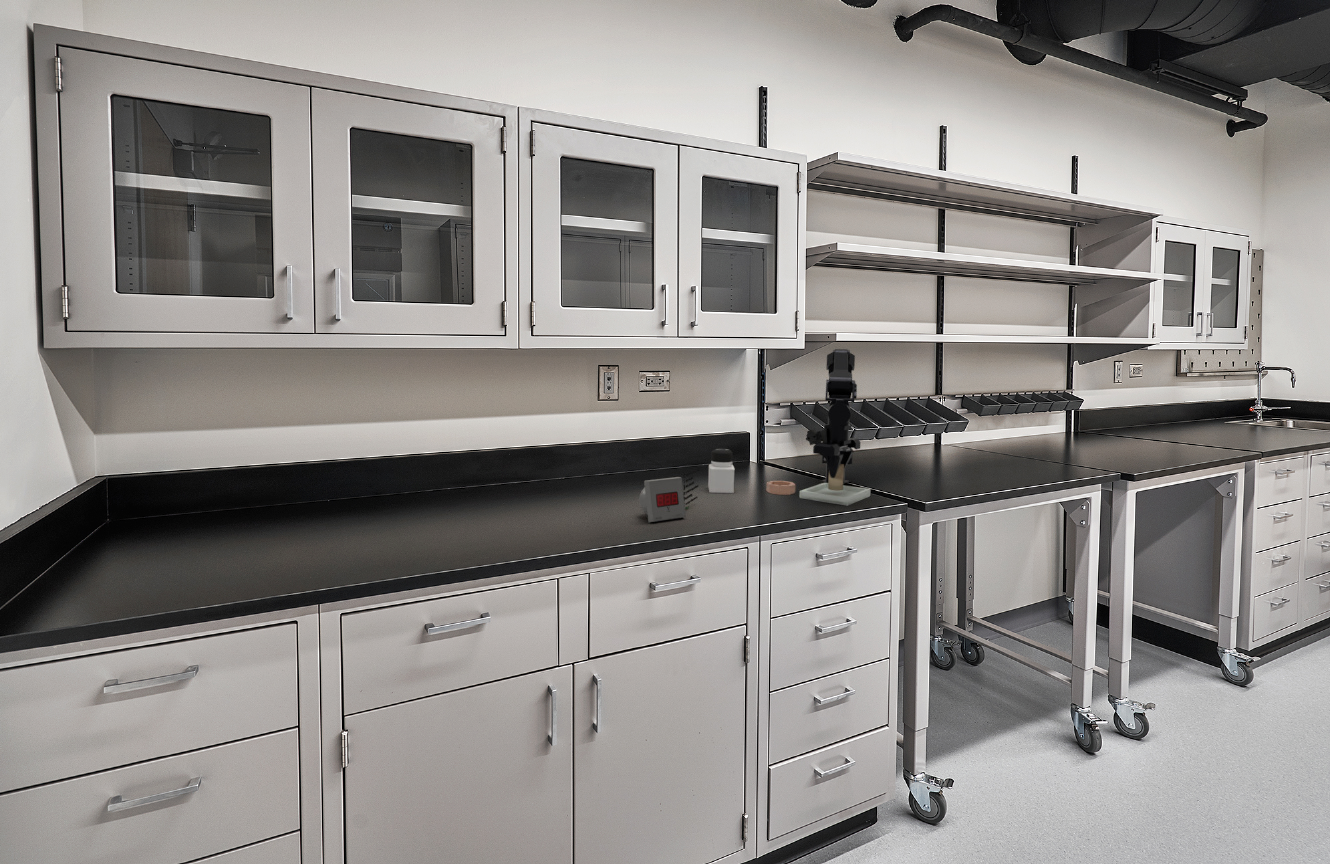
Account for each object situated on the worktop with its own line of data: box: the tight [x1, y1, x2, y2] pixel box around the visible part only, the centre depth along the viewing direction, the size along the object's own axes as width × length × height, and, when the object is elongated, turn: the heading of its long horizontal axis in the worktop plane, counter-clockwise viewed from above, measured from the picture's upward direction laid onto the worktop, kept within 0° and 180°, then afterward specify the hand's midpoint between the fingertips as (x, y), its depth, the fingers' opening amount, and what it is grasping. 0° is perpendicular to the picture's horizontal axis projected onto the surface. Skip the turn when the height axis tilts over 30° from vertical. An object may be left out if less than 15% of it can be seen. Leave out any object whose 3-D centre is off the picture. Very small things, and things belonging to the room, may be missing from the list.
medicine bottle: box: [707, 448, 736, 494], centre depth 202 cm, size 7×7×12 cm
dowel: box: [828, 464, 844, 491], centre depth 195 cm, size 4×4×7 cm
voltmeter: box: [638, 467, 701, 523], centre depth 175 cm, size 27×11×10 cm, turn 159°
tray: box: [799, 482, 871, 507], centre depth 196 cm, size 16×14×2 cm
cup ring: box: [765, 480, 796, 496], centre depth 202 cm, size 8×8×2 cm
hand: (836, 476), depth 195 cm, fingers closed on dowel, 4 cm apart
